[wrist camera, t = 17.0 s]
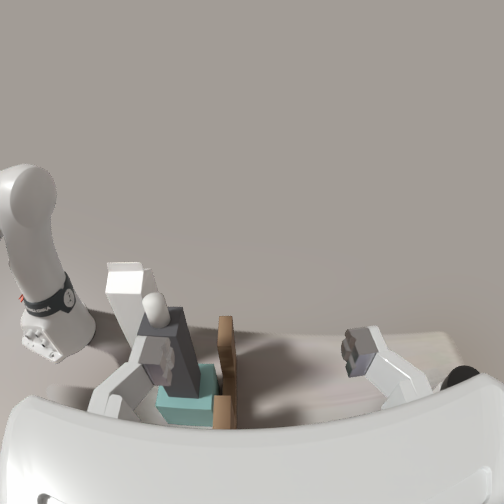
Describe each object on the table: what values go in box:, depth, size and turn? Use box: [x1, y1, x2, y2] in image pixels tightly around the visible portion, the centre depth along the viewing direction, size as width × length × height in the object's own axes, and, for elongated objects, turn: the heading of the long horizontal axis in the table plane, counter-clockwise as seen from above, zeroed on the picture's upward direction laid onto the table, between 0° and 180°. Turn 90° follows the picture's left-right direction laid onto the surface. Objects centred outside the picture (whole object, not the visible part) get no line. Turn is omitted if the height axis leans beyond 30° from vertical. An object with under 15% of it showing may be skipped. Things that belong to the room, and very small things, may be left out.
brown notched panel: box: [213, 316, 237, 429], centre depth 36 cm, size 2×20×12 cm, turn 2°
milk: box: [106, 262, 158, 349], centre depth 41 cm, size 6×6×22 cm
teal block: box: [155, 364, 219, 427], centre depth 37 cm, size 8×8×7 cm
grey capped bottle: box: [137, 292, 201, 399], centre depth 30 cm, size 4×4×17 cm
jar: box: [433, 366, 480, 393], centre depth 28 cm, size 9×8×12 cm
